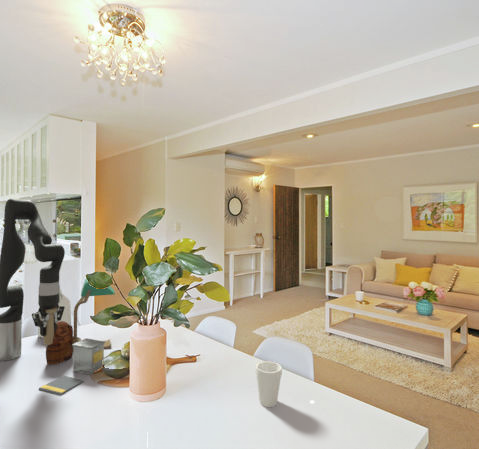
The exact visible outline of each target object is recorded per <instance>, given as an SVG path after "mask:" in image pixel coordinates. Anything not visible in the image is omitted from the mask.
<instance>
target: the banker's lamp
mask: <svg viewBox="0 0 479 449" xmlns="http://www.w3.org/2000/svg"><path fill="white" fill-rule="evenodd" d="M110 295H111V296H112V295H116V292H115V290H114V288H113V287H112V286H109V287H107V288H105V289H96V288H94V287H92V286H90V285H89V283H88V281H87V278H85V280H84V283H83V286H82V288H81V291H80V298H79V300H78V301H77V303H76V304H75V306H74V309H73V344H74V343H76V342H79V341H81V340H82V338H80V337H78V309H79V307H80V306H81V305H83V304H86V303H87V302H88V301H89V298H90V297H99V296H110ZM103 341H104V342H105V343H104V350H106V349H112V341H111V338H109V339H107V340H103ZM71 346H72V345H71ZM72 354H73V346H72Z"/></svg>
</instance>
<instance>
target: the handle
mask: <svg viewBox="0 0 479 449" xmlns="http://www.w3.org/2000/svg"><path fill="white" fill-rule="evenodd" d="M56 311H57V307H54V308H51V309H47V310H46V313H49V314H50V316H49V320H48V321H47V324H46V336H43V337H42V339H43V345H44V346H47V345H50V344H52V343H53V337H54V318H53V314H54V312H56ZM44 319H45V318H44Z"/></svg>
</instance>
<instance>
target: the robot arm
mask: <svg viewBox="0 0 479 449" xmlns="http://www.w3.org/2000/svg"><path fill="white" fill-rule="evenodd" d="M3 217H4V218H3V219H4V220H3V221H4V222H3V235H2V242H1V247H0V248H1V249H0V309H3V308H8V309H7V310H5V311H3V312H2V313H0V361H4V362H5V361H11V360H15V359H17V358H19V357H21V356H22V332H23V331H22V330H23V329H22V328H23V327H22V323H23V321H22V316H23V314H24V300H25V299H24V296H25V295H24V289H23V288H22V286H21V285H12V286H9V283H10V281H11V279H12V278H13V277H14V275H15V274H16V272H18V270H19V269H20V268H21V267H22V265H23V264H24V261H25V257H26V250H27V249H26V244H25V243H24V241H23V240H22V239H23V238H21V237H20V235H19V233H18V231H17V227H16V222H17V221H16V220H19V221H21V220H22V221H23V220H24V221H26V220H28V221H30V224H29V225H28V227H27V228H28V229H27V237H28V239H29V240H30V241H31V244H32V245H33V248H34V249H33V250H34V257H35V259H36V261H38V262H40V263H48V262H50V264H49V265H48V266H45V267H42V268H41V269H40V270H39V283H38V284H39V285H38V302H37V303H38V306H39V308H38V311H37V312H33V313H31V317H32V320H33V323H34V326H35V327H37V328H39V327H40V335H41V336H46V324H47V321H48V320H49V316H50V314H49V313H46V310H47V309H51V308H54V307H57V311H56V312H54V314H53V318H54V332H56V329H57V322H58V321H60V320H61V318H62V315H63V312H64V308H65V307H64V306H59V305H58V303H59V299H60V289H61V286H60V285H61V284H60V271H61V268H62V264H63V261H64V258H65V252H66V251H65V248H64V246H63V245H61V244H59V243H56V244H55V243H54V244H52V243H53V242H52V241H53V239H52V236H51V235H50V234H49V232H48V231H47V229H46V228H45V225H44V223H43V221H42V218H41V216H40V213H39V211H38V208H37V206H36V204H35V202H34V201H32V200H30V199H19V198H9V199H7V201H6V202H5V206H4V216H3ZM40 315H41V316H40ZM58 316H59V317H58ZM44 318H45V319H44ZM43 321H44V323H43Z"/></svg>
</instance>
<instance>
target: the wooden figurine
mask: <svg viewBox="0 0 479 449" xmlns="http://www.w3.org/2000/svg"><path fill="white" fill-rule="evenodd" d="M73 334H74V327H73V325H72V324H71V325H69V324H68V323H67V322H64V321H59V322H57V329H56V332H54V337H53V343H52V344H50V345H46V347H45V359H46V364H47V365H49V366H50V365H60V364H62V363H65V362H66V361H68V360H69V359H70V358H73V353H72V346H71V345H72V344H73Z"/></svg>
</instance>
